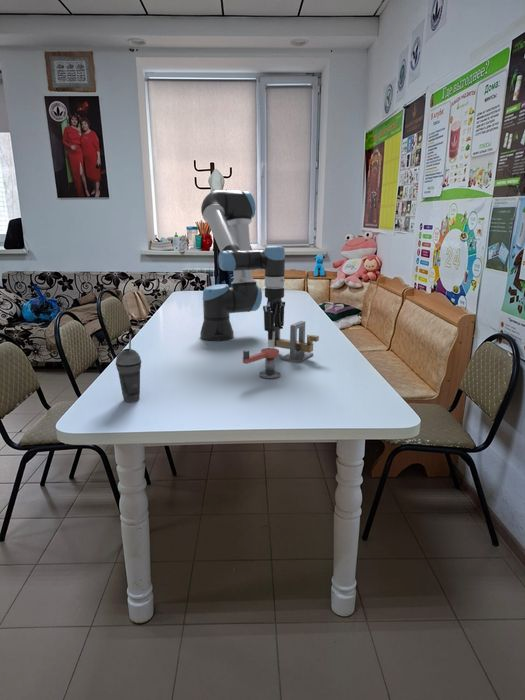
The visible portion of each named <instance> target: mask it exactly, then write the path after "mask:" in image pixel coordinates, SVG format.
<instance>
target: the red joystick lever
mask: <svg viewBox="0 0 525 700" xmlns="http://www.w3.org/2000/svg"><path fill="white" fill-rule="evenodd" d="M279 356H280V350H279V349H278V348H272V347H266V348H262V349H261V351H260V352H258V353H254V354H250V350H243V351H242V363H243V364H246V365H248V364H251V363H253V362H257V361H261V360H263V359H265V358H275V359H276V358H278V357H279Z"/></svg>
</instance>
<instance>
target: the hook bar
mask: <svg viewBox="0 0 525 700" xmlns="http://www.w3.org/2000/svg"><path fill="white" fill-rule="evenodd" d="M274 331H275V347H276V348H281V349H286V350H290V339H285V338H280V339H279V326H275V324H274ZM319 341H320V336H319V335H316V334H307V336H306V341H305V342H299V340H297V349H296V350H297V351H303V352H309V353H313V352H314V342H315V343H316V342H319Z"/></svg>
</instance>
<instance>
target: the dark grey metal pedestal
mask: <svg viewBox="0 0 525 700" xmlns="http://www.w3.org/2000/svg"><path fill="white" fill-rule="evenodd" d="M264 359H265V361H264V365H265V367H264V368H265V370H262V371H260V372H259V377H260V378H262V379H264V380H275V379H279V378H280V377H281V372H279V370H278V371H277V370H276V368H275V366H276V360H275V359H276V358H264Z"/></svg>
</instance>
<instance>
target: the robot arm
mask: <svg viewBox="0 0 525 700" xmlns="http://www.w3.org/2000/svg"><path fill="white" fill-rule="evenodd" d="M200 207H201V208H200V209H201V211H200V212H201V216H202V219H203V220H204V222H205V223H207V224H208V226H209V229H210V231H211V233H212V235H213V237H214V240H215V242H216V245H217V247H218V250H219V253H218V256H217V257H218V258H217V260H218V261H217V262H218V267H219V269H220V270H222V271H224V272H225V271H228V272H233V280H232V281H231V284H230V286H229V284H227V283H226V284H225V283H222V284H219V283H218V284H213V285H209V286H207V287H205V288H204V289H203V291H202V306H203V309H202V311H203V322H202V325H201V329H200V332H199V333H200V334H199V335H200V338H201V339H202V340H205V341H226V340H227V341H228V340H230V339H232V338H234V337H235V336H234V335H235V333H234V330H233V325H232V324H231V320H230V314H236V313H251V312H256V311H258V310H259V309H260V307H261V304H262V300H263V291H262V288H261V286H260V285H258V283H257V281H256V280H255V279H254V276H253V271H254V270H255V271H256V270H263V271H264V287H265V288H264V297H265V298H266V299H267V301H266V305H263V306H262V310H263V322H264V323H263V325H264V327H263V328H264V331H266V332H267V348H275V331H274V325H275V326H279V339H281V330H283V329H284V324H285V306H286V301H282V299H283V298H284V297H285V288H284V287H285V281H286V279H285V265H286V264H285V263H286V261H285V260H286V251H285V247H284V246H283V245H269V246H266V247H265V248H264V249H262V248H261V249H257V250H256V249H253V250H251V239H250V236H251V235H250V226H249V225H250V224H251V223H252V220H253V218H254V217H255V216H256V208H257V207H256V200H255V198H254V195H252V193H251V192H250V191H246V190H240V189H239V190H221V189H220V190H219V189H217V190H216V189H215V190H213V191H211V192H210V193H208V194H207V195H206V196H205V197H204V199H203V200H202V203H201V206H200ZM275 349H276V348H275Z"/></svg>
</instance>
